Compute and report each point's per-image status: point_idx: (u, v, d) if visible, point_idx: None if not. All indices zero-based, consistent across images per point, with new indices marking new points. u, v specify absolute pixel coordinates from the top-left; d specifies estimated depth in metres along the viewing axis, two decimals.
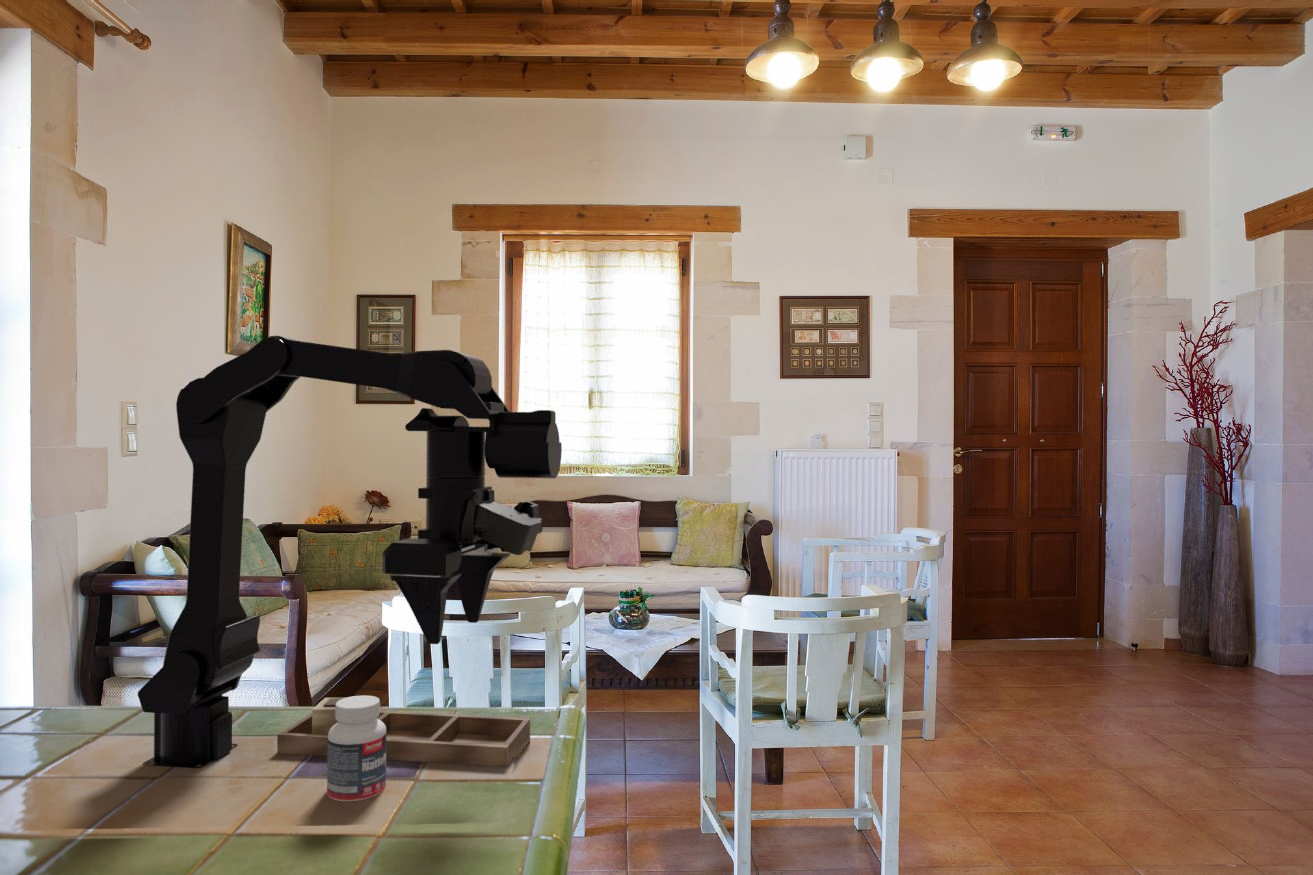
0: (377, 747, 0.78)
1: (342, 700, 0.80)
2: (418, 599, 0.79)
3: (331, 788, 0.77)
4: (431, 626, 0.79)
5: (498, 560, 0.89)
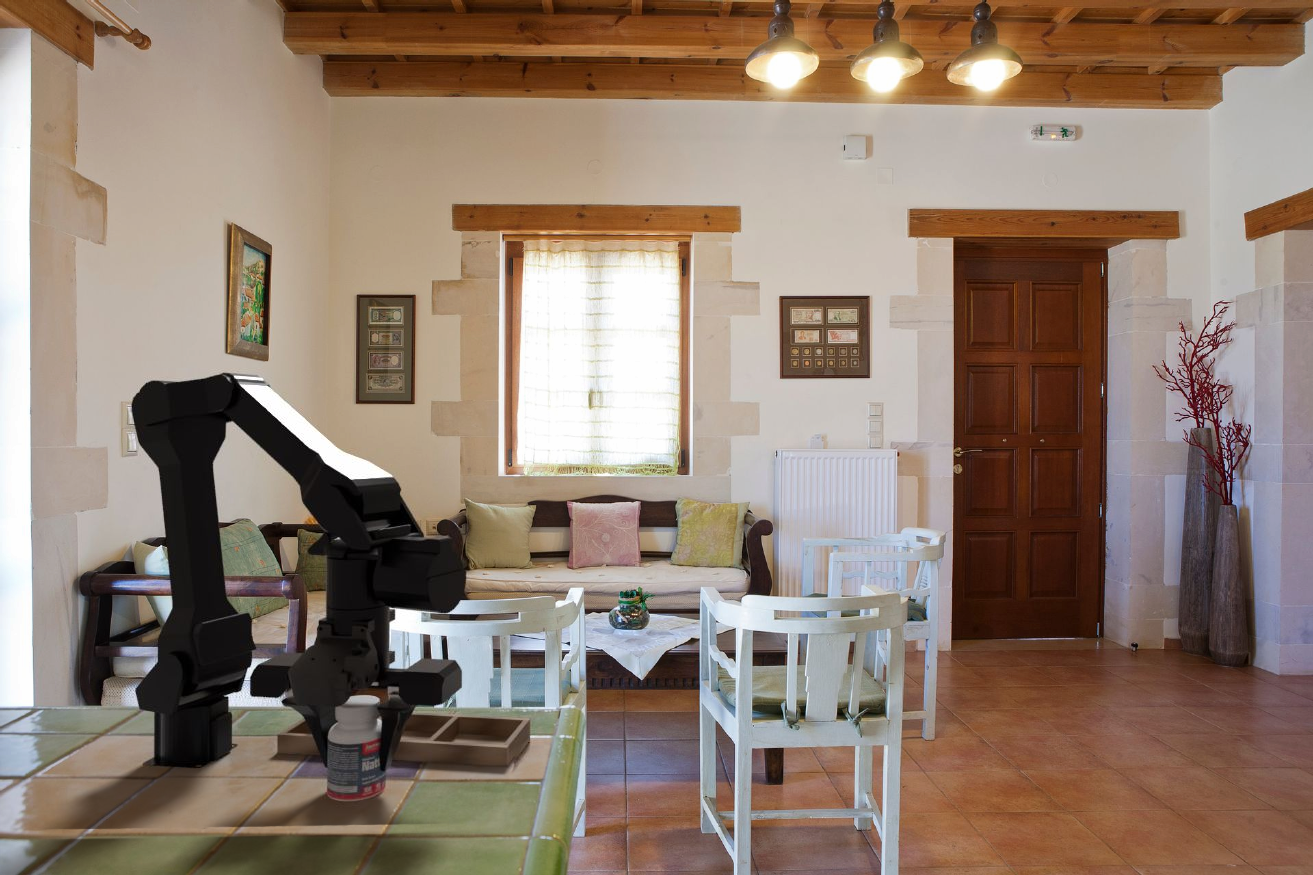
0: (377, 747, 0.78)
1: None
2: None
3: (331, 788, 0.77)
4: None
5: (378, 709, 0.77)
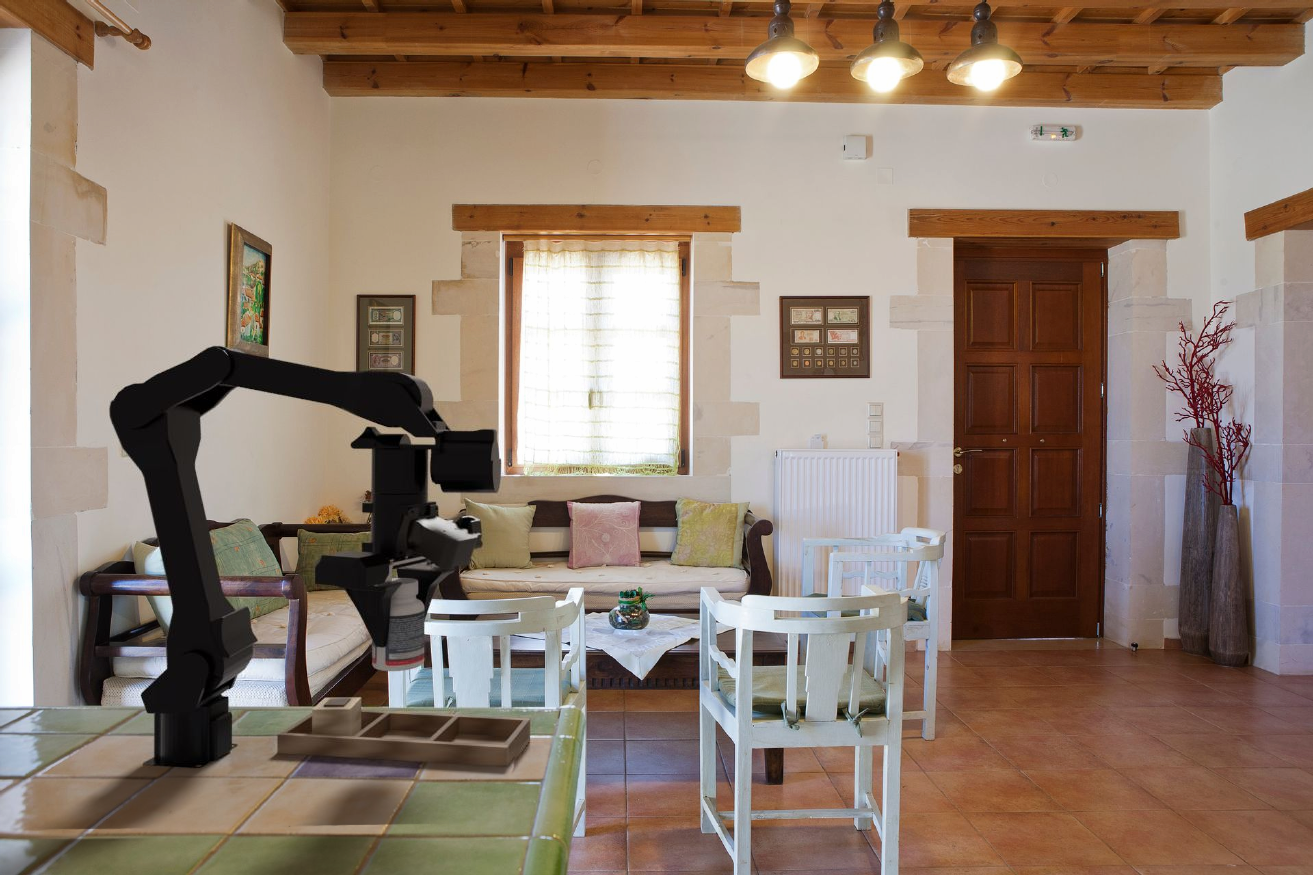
0: None
1: None
2: (364, 605, 0.85)
3: (408, 656, 0.86)
4: (377, 630, 0.85)
5: (438, 575, 0.90)
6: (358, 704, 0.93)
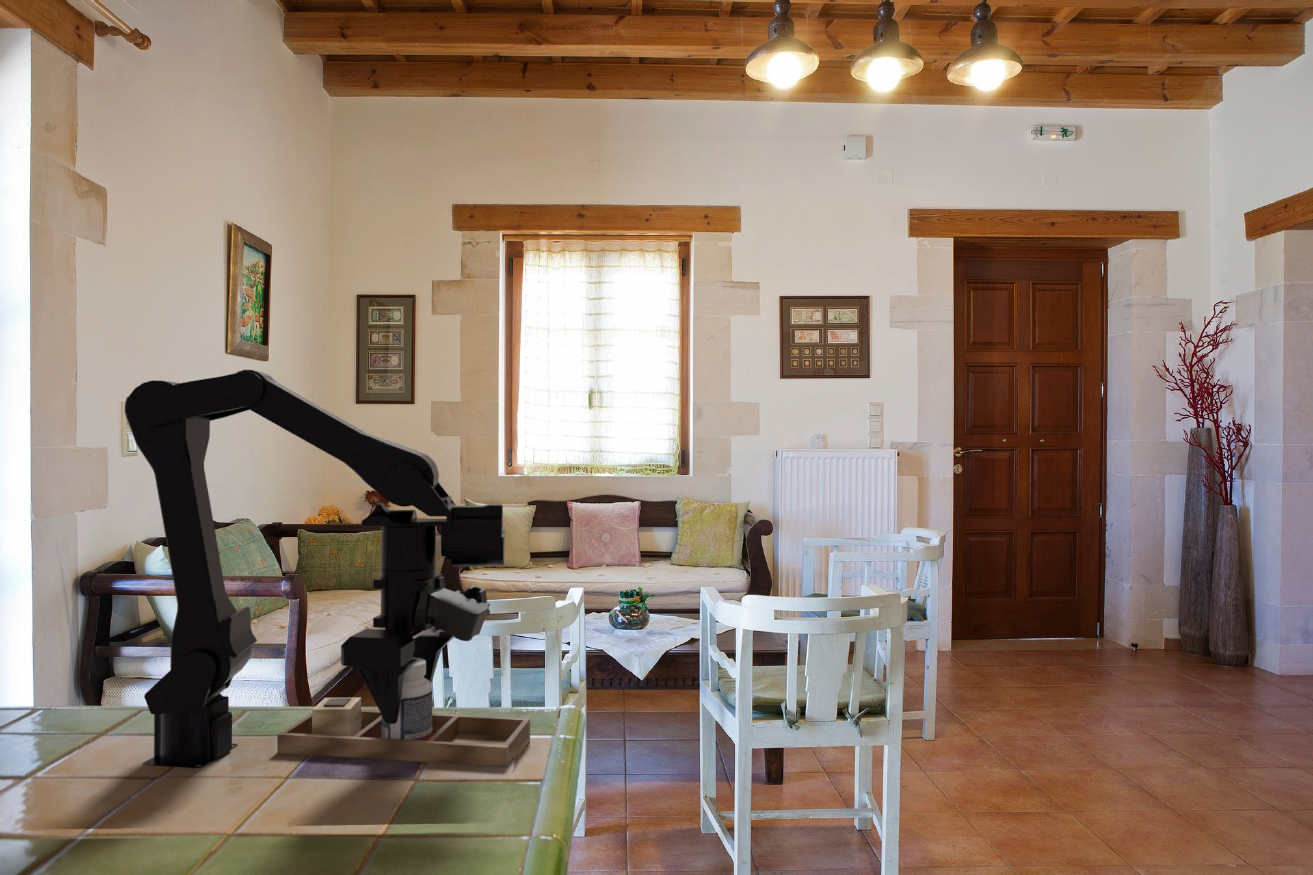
0: None
1: None
2: (377, 684, 0.86)
3: (422, 735, 0.89)
4: (389, 708, 0.86)
5: (446, 641, 0.95)
6: (358, 704, 0.93)
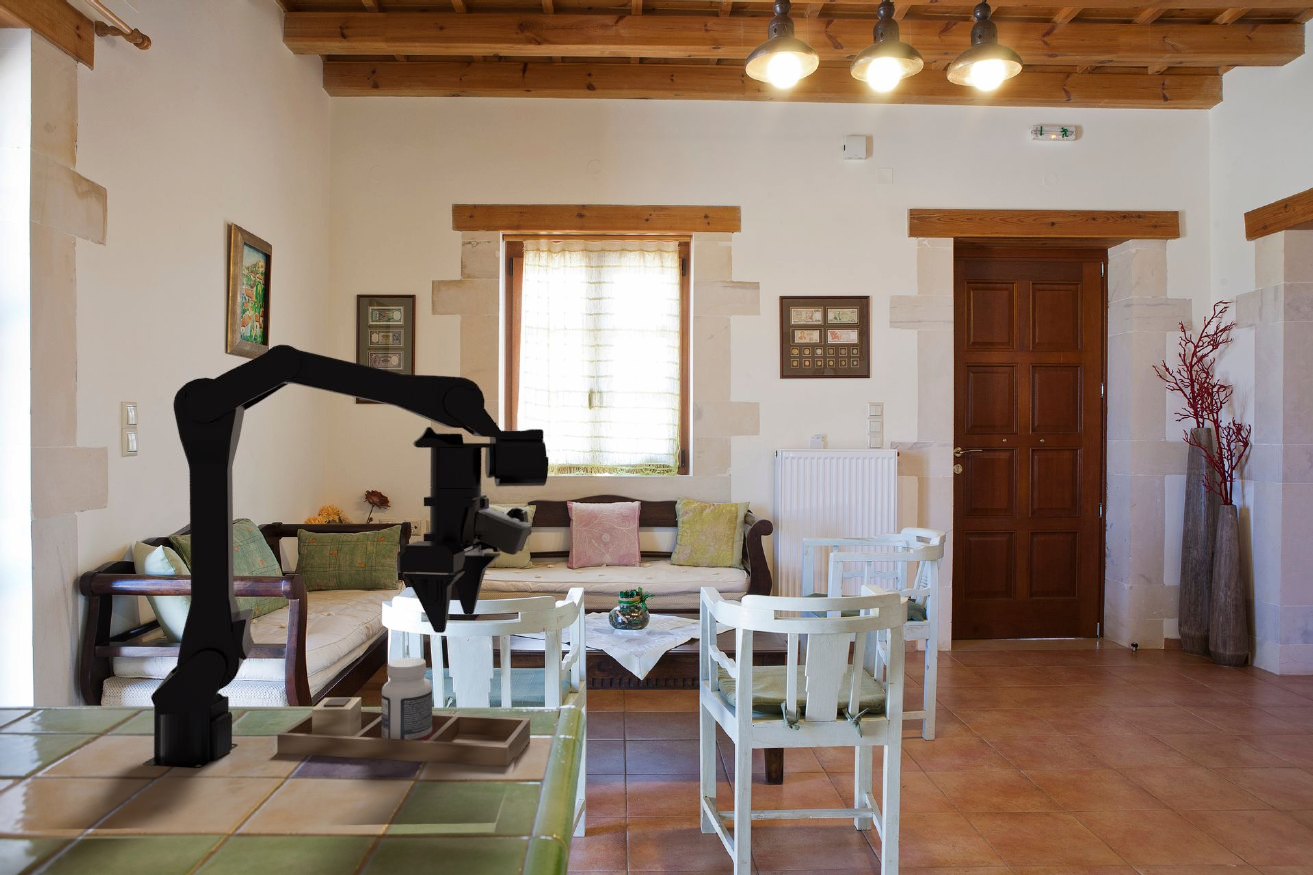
0: None
1: (398, 666, 0.89)
2: (426, 594, 0.91)
3: (422, 735, 0.89)
4: (438, 617, 0.91)
5: (491, 559, 1.01)
6: (358, 704, 0.93)
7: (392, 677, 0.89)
